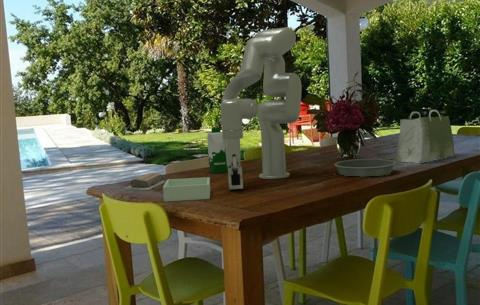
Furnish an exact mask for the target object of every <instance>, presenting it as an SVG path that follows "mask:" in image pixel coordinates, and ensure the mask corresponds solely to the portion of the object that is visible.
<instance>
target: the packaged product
mask: <svg viewBox="0 0 480 305" xmlns="http://www.w3.org/2000/svg"><path fill="white" fill-rule="evenodd" d="M166 181H167V180H162V174H161V173H159V172H148V173H145V174H143V175H140V176H137V177H134V178H132V179H131V180H130V184H131V185H129V186H125V187H124V189H125V191H126V190H127V191H126V192H128V191H129V192H134V191H135V192H138V190H139V192H143V190H144V192H146V191H145V190H149V191H151V190H153V189H154V188H157V187H159V185H160V186H161V184H162V185H164V184H165V183H166ZM152 188H153V189H152Z"/></svg>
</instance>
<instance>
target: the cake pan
mask: <svg viewBox="0 0 480 305" xmlns="http://www.w3.org/2000/svg"><path fill="white" fill-rule="evenodd" d="M396 164H397V163H396V162H395V160H391V159H384V158H383V159H382V158H357V159H356V158H355V159H348V160H347V159H346V160H341V161H337V162H335V163H333V165H334V166H335V167H336V169H337V172H338V175H340V174H341V175H340V176H342V175H344V176H343V177H347V176H360V177H359V178H365V177H364V176H380V175H386V174H389V173H391V172H392V173H393V169H394V166H396ZM361 176H362V177H361ZM386 176H387V175H386ZM380 177H381V176H380Z"/></svg>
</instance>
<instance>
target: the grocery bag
mask: <svg viewBox="0 0 480 305" xmlns="http://www.w3.org/2000/svg"><path fill="white" fill-rule="evenodd" d="M433 112H435V113H437V115H438V116H431V115H432V113H433ZM414 114H417V115H418V116H419V117H418V118H412V116H413V115H414ZM399 125H400V127H399V136H398V143H397V148H396V153H395V158H394V162H395V161H401V162H415V163H423V162H426V161H430V160H434V159H439V158H445V159H447V158H446V157H449V156H452V157H454V156H455V144H454V136H453V132H452V131H453V130H452V126H451V122H450V117H449V115H448V116H441V114H440V112H439V111H438V110H437V109H430V110H429V113H428V116H423V117H421V113H420V112H419V111H412V112H411V113H410V116H409V117H408V118H403V119H400V122H399ZM453 155H454V156H453ZM449 158H450V157H449Z"/></svg>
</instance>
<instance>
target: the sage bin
mask: <svg viewBox="0 0 480 305" xmlns="http://www.w3.org/2000/svg"><path fill="white" fill-rule="evenodd" d="M165 181H166V183H164V184H163V187H162V192H163V202H179V201H198V200H199V201H200V200H210V199H211V198H210V197H211V178H210V176H208V177H190V178H172V179H170V178H169V179H167V180H165Z"/></svg>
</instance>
